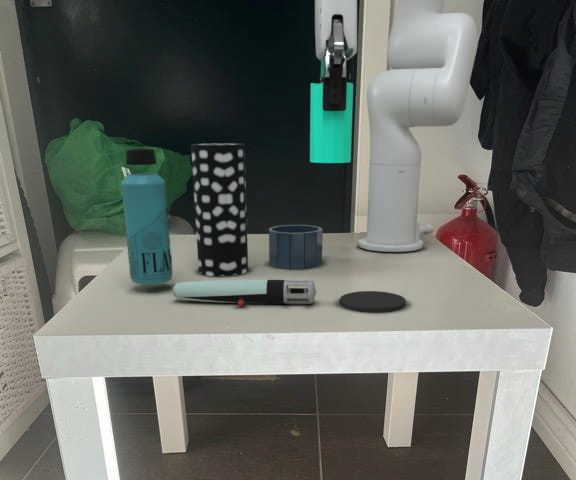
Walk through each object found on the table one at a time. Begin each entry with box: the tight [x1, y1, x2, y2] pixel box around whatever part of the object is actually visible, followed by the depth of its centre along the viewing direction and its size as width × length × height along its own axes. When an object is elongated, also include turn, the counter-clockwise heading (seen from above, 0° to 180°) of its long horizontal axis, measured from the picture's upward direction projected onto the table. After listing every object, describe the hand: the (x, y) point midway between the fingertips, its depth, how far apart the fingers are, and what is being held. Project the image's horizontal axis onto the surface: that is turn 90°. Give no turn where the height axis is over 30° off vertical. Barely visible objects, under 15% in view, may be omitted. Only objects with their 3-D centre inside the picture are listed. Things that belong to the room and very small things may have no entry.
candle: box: [309, 81, 354, 164], centre depth 92 cm, size 6×6×12 cm
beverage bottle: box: [120, 147, 174, 285], centre depth 93 cm, size 6×7×20 cm
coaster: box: [339, 290, 407, 313], centre depth 89 cm, size 9×9×1 cm
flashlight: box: [172, 279, 317, 308], centre depth 89 cm, size 3×4×20 cm
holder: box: [268, 224, 323, 270], centre depth 112 cm, size 9×9×6 cm
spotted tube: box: [190, 142, 249, 277], centre depth 104 cm, size 8×8×20 cm
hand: (331, 110), depth 92 cm, fingers closed on candle, 6 cm apart
